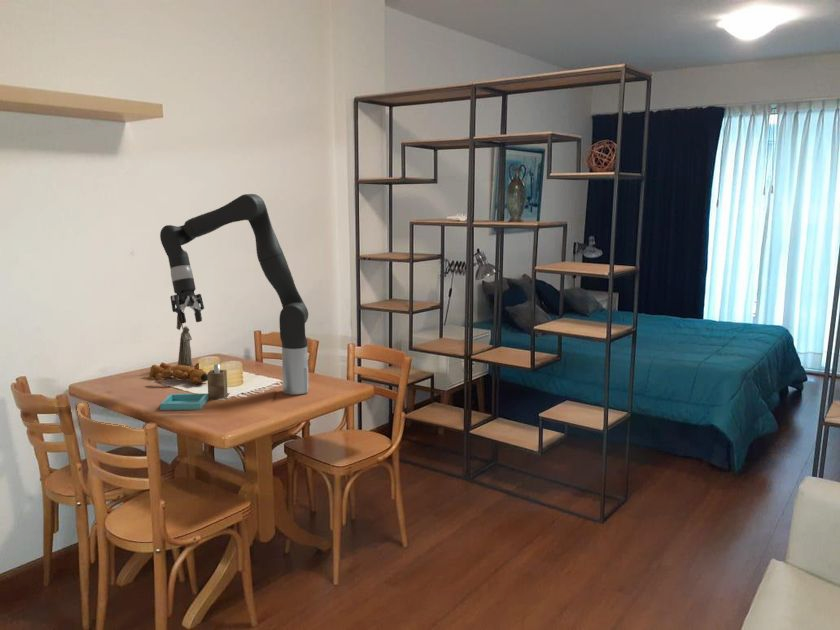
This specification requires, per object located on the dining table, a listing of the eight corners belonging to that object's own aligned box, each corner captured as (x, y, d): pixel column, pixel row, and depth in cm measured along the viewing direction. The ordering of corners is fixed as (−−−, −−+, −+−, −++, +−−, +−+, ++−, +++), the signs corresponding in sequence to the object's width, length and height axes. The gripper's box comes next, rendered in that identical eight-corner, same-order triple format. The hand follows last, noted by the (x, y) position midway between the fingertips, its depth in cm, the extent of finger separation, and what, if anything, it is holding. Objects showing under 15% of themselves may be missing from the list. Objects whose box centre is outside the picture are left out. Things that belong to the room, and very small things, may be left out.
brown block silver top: (229, 394, 239) (228, 362, 237) (226, 399, 232) (224, 367, 230) (210, 394, 238) (209, 362, 236) (205, 400, 231) (204, 367, 230)
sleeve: (227, 393, 238) (226, 369, 237) (224, 398, 233) (223, 373, 231) (211, 393, 238) (210, 369, 236) (208, 398, 232) (207, 373, 231)
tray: (208, 400, 231) (208, 393, 231) (200, 410, 219) (200, 403, 219) (170, 401, 230) (170, 394, 229) (160, 411, 218) (160, 403, 218)
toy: (136, 383, 257) (185, 392, 241) (134, 366, 256) (184, 374, 240) (179, 373, 273) (227, 381, 257) (177, 357, 273) (226, 364, 256)
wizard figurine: (184, 373, 269) (181, 313, 265) (167, 371, 272) (164, 312, 268) (200, 367, 279) (198, 310, 275) (184, 365, 282) (181, 308, 278)
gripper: (177, 277, 231) (186, 321, 231) (203, 277, 245) (212, 319, 244) (160, 281, 234) (169, 325, 234) (188, 281, 247) (196, 323, 247)
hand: (191, 322), depth 239 cm, fingers open, 8 cm apart
